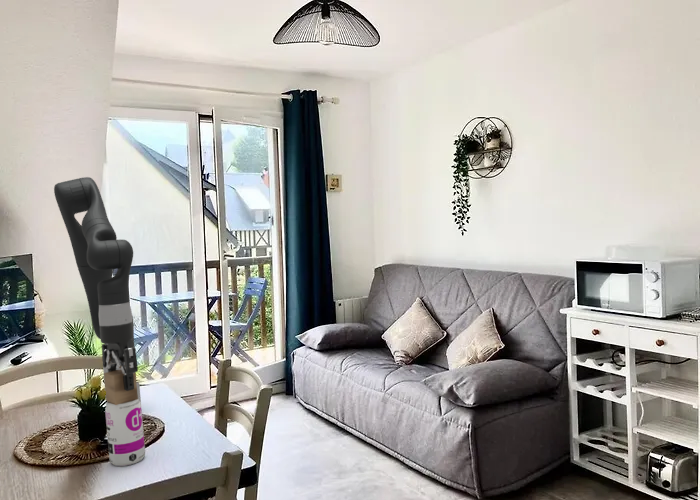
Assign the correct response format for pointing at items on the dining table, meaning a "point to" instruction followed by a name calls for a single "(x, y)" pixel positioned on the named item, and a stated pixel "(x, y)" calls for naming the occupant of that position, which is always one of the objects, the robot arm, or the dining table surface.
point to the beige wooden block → (118, 388)
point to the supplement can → (125, 433)
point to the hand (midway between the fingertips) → (121, 387)
